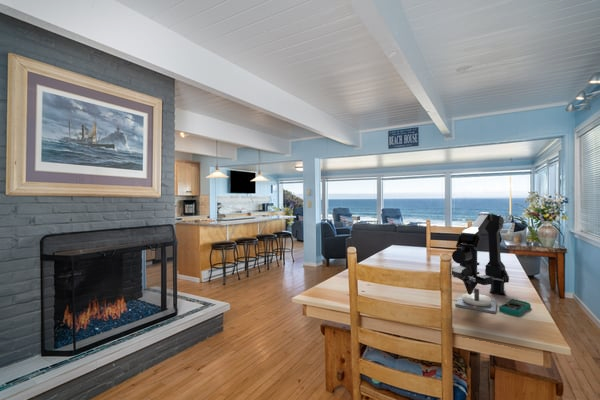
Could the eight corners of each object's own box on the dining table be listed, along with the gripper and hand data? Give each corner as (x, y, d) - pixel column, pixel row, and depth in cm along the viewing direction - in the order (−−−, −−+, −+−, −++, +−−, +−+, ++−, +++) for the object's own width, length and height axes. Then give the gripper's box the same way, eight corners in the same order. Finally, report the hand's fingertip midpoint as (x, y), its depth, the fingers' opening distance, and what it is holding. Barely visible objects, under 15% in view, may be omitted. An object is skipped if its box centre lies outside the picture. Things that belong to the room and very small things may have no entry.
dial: (462, 303, 130) (462, 287, 130) (462, 295, 140) (462, 281, 140) (491, 307, 125) (491, 291, 125) (489, 299, 134) (489, 284, 134)
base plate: (460, 296, 143) (460, 294, 143) (497, 302, 134) (497, 300, 134) (455, 306, 130) (455, 303, 130) (495, 314, 122) (495, 311, 122)
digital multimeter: (498, 312, 124) (498, 305, 124) (511, 304, 133) (511, 297, 133) (518, 318, 118) (518, 310, 118) (531, 309, 127) (531, 302, 127)
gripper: (439, 257, 137) (439, 290, 137) (474, 266, 119) (474, 304, 119) (457, 255, 140) (457, 287, 141) (494, 264, 122) (494, 300, 123)
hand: (469, 294), depth 131 cm, fingers closed
